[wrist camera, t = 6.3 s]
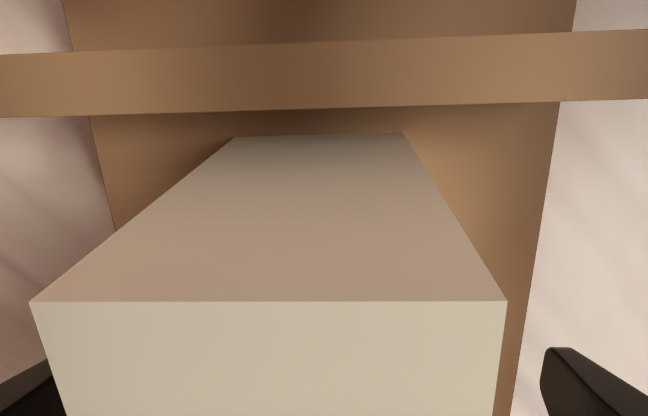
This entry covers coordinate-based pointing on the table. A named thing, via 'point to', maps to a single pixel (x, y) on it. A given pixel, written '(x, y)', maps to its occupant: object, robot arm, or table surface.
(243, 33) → the rack
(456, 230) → the cream rectangular block
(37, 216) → the table surface
